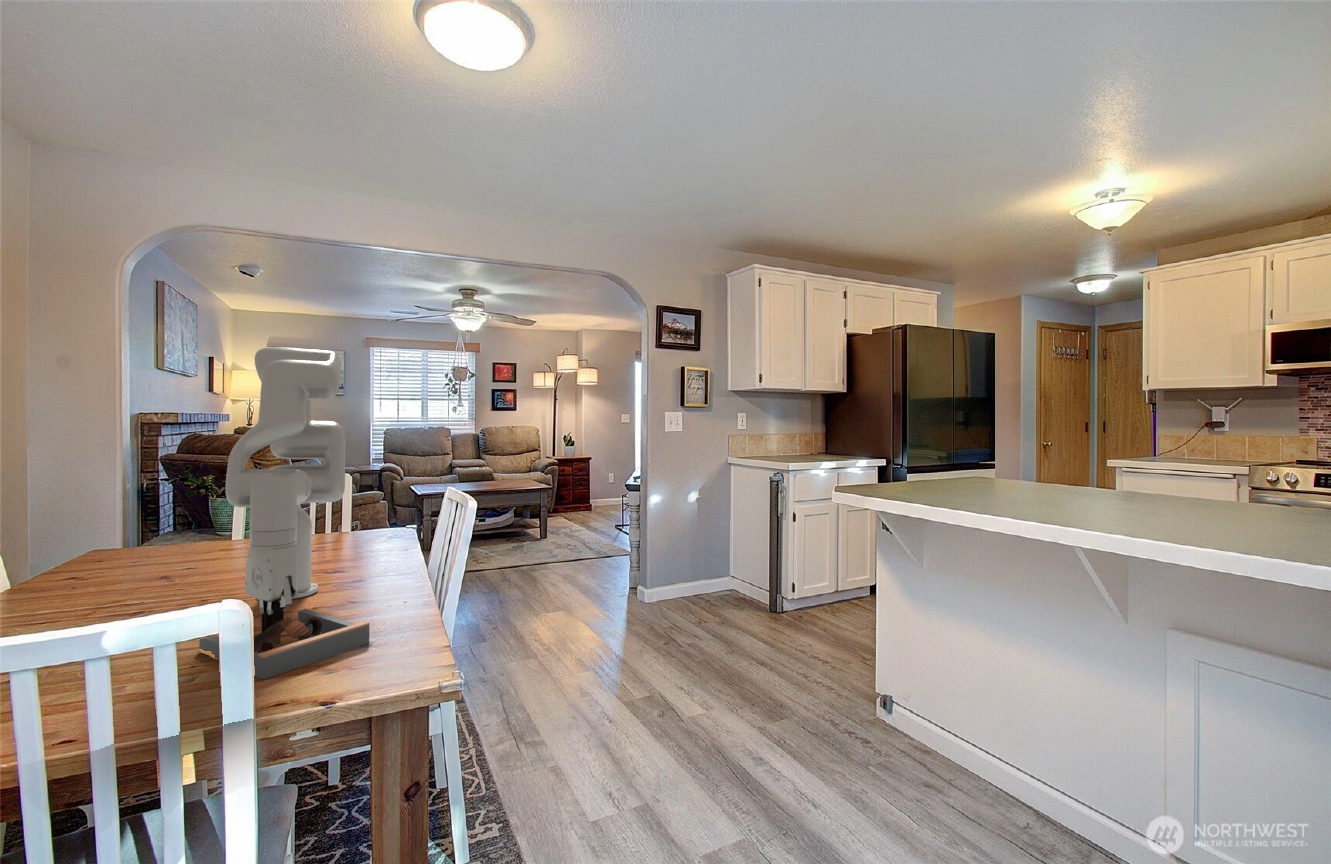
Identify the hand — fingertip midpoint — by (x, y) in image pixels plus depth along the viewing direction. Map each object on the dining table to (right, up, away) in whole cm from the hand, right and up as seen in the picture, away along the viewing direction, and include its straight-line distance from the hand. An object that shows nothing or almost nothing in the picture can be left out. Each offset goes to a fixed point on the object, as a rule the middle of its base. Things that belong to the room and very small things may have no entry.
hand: (272, 632), depth 113 cm
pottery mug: (+7, -3, -6) cm, 10 cm away
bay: (+4, -2, -2) cm, 5 cm away
